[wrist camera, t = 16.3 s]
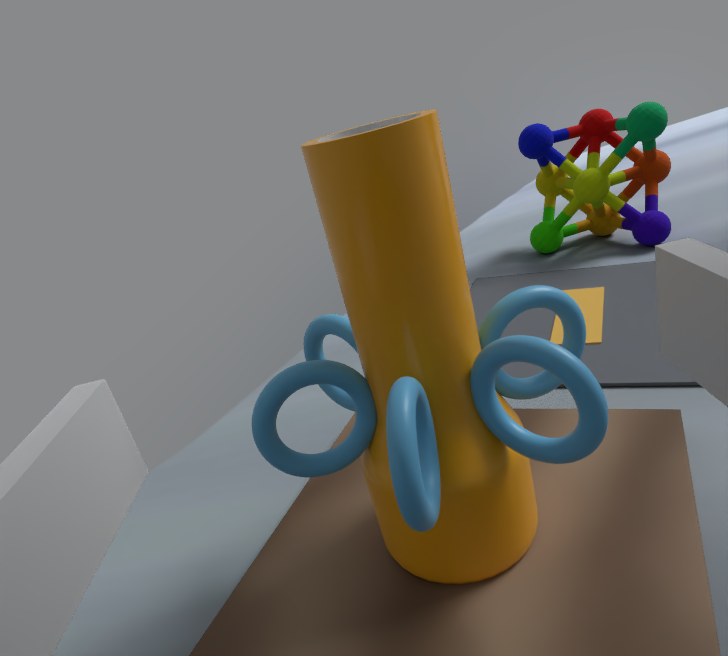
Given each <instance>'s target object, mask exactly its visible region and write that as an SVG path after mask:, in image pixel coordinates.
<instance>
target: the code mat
mask: <svg viewBox="0 0 728 656" xmlns="http://www.w3.org/2000/svg"><path fill="white" fill-rule="evenodd" d="M535 285H544V286H551V287H554V288H557V289H560V290H562V291H563V292H565V293H567V294H568V295H569V296H571V297H572V298H573V299H574V300H575V302H576V303H577V304H578V306H579V307H580V309H581V311H582V313H583V316H584V319H585V324H586V342H585V347H584V351H583V354H582V356H581V359H580V360H581V361H582V362H583V363H584V364H585V365H586V366H587V368H588V369H589V370H590V371H591V372H592V374H593V375H594V376H595V378H596V379H597V381H598V383H599V384H600V386H681V385H699V384H698V383H697V382H696V381H694V380H693V379H692V378H691V377H689V376H688V375H687V374H685V373H684V372H683V371H682V370H680V369H679V368H678V367H677V366H675V365H674V364H673V363H671V362H670V361H669V360H668V359H666V358H665V357H664V356H663V355H661V354H660V343H659V322H658V300H657V279H656V261H652V262H642V263H632V264H622V265H612V266H601V267H591V268H581V269H571V270H560V271H550V272H540V273H530V274H519V275H509V276H499V277H489V278H479V279H476V280H475V281H474V283H473V285H472V287H471V289H470V292H471V298H472V303H473V309H474V314H475V319H476V324H477V330H478V331H479V328H480V326H481V324H482V322H483V320H484V318H485V317H486V315H487V314H488V312H489V311H490V310H491V309H492V307H493V306H494V305H495V304H496V303H497V302H499V301H500V300H501V299H502V298H504V297H505V296H507V295H508V294H510V293H512V292H514V291H516V290H518V289H521V288H524V287H528V286H535ZM514 335H526V336H534V337H538V338H542V339H545V340H548V341H551V342H553V343H555V344H557V345H559V346H562V342H563V326H562V322H561V320H560V318H559V317H558V316H557V314H555V313H554V312H553V311H551V310H549V309H546V308H532V309H529V310H526V311H524V312H522V313H520V314H519V315H517V316H516V317H515V318H514V319H513V320H512V321H511V322H510V323H509V324H508V325H507V326H506V328H505V329H504V331H503V333H502V335H501V337H500V338H503V337H507V336H514ZM501 368H502V369H503V371H504V372H505V373H507V374H508V375H510V376H512V377H515V378H528V377H531V376H534V375H537V374H539V373H540V372H542V371H543V370H545V369H543V368H541V367H539V366H536V365H533V364H530V363H525V362H512V363H508V364H506V365H504V366H503V367H501ZM558 387H566V386H565V385H564V384H563V383H562V384H561V385H559V386H558Z"/></svg>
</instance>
